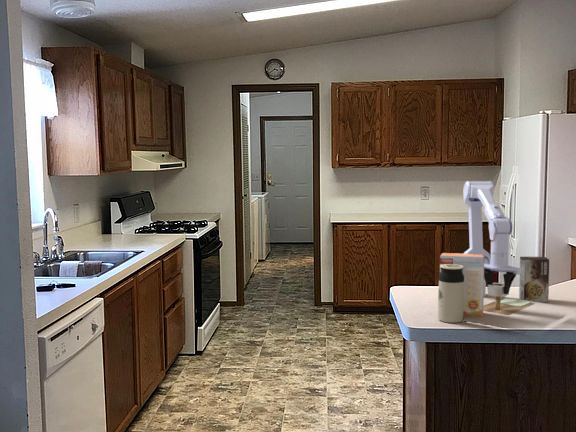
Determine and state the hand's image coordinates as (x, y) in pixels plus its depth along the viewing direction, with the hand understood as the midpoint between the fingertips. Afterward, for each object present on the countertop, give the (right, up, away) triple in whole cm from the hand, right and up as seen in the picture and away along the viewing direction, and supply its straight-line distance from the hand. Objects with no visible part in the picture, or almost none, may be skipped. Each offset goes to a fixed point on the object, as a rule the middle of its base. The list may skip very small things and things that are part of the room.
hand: (498, 292), depth 212 cm
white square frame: (0, -1, 0) cm, 1 cm away
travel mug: (-19, -8, -9) cm, 23 cm away
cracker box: (-14, -8, -4) cm, 16 cm away
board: (+4, -6, +5) cm, 9 cm away
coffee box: (+19, -5, +18) cm, 27 cm away
